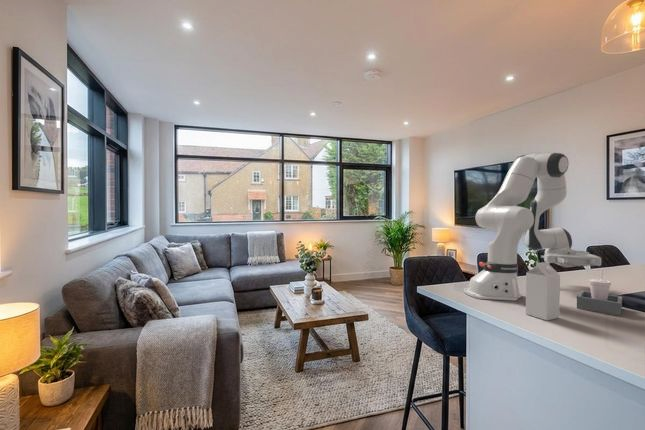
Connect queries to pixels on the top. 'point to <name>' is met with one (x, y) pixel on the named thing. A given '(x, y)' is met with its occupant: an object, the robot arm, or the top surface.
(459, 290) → the top surface
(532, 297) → the milk carton
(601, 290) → the smoothie
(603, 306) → the bin
